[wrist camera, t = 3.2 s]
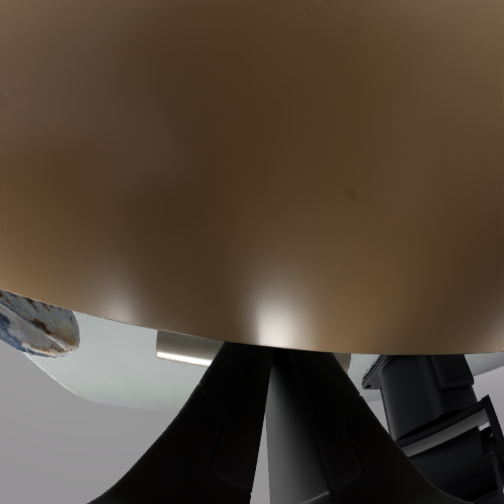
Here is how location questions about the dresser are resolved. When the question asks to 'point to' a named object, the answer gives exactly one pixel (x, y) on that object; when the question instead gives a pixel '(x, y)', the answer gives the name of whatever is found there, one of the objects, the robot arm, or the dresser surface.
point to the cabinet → (259, 168)
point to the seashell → (37, 326)
